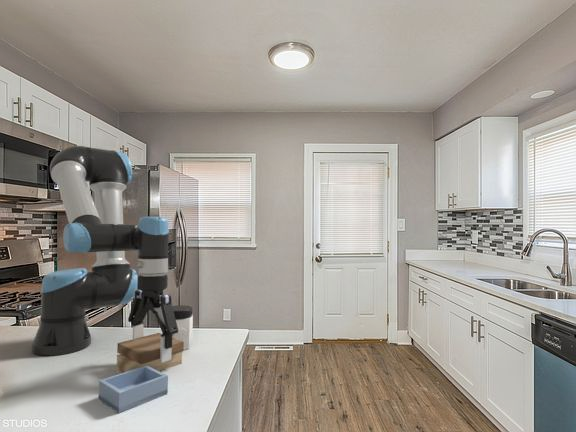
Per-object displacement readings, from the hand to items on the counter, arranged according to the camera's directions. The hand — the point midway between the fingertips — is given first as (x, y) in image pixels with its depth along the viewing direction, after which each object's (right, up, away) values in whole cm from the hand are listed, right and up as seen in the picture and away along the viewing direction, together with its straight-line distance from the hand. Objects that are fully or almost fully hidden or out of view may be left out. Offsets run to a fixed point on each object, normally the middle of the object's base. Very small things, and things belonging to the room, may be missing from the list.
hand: (151, 354), depth 94 cm
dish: (+2, -3, -16) cm, 16 cm away
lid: (0, +1, 0) cm, 1 cm away
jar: (+2, -4, +16) cm, 17 cm away
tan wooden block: (0, -3, 0) cm, 3 cm away
